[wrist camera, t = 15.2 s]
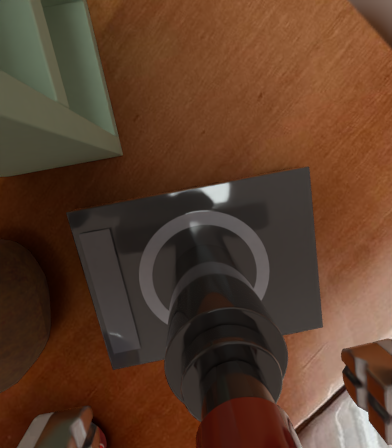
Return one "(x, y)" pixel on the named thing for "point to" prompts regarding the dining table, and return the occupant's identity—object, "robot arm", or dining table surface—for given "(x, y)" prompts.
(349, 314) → the dining table surface
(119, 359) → the hob
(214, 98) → the dining table surface
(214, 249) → the spice bottle
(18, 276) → the potato
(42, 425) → the robot arm
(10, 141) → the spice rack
